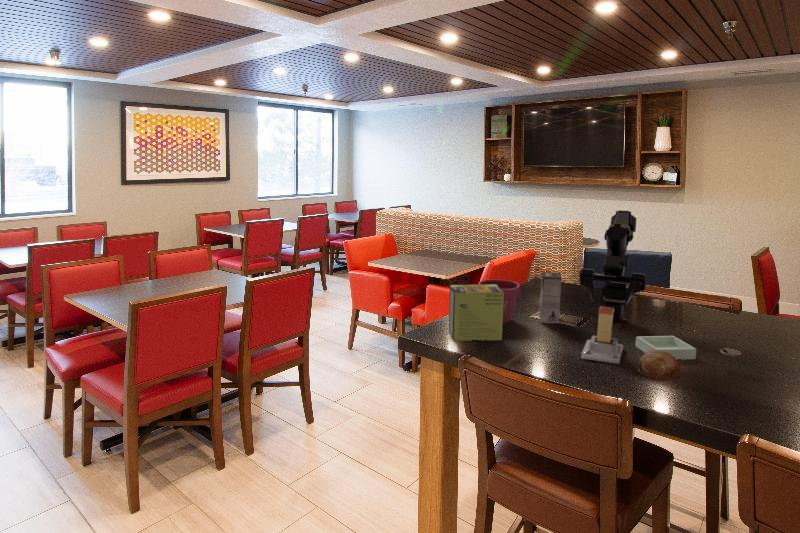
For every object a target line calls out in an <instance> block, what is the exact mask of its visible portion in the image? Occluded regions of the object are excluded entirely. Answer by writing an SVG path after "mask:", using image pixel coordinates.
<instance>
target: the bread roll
mask: <svg viewBox="0 0 800 533" xmlns="http://www.w3.org/2000/svg"><path fill="white" fill-rule="evenodd" d="M681 371H682V370H681V364H680V362H679V361H678V360H676V359H675V358H674V357H673V356H672V355H671V354H669V353H667V352H663V351H656V350H652V351H648V352H646V353H645V352H644V354H643V355H642V356H641V357H640V358H639V360H638V366H637V372H638V373H640V374H641V375H643V376H645V377H647V378H649V379H652V380H657V381H673V380H676V379H677V378H678V377H679V376H680V375H681Z"/></svg>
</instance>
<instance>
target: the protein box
mask: <svg viewBox="0 0 800 533" xmlns="http://www.w3.org/2000/svg"><path fill="white" fill-rule="evenodd" d="M448 301H449V303H448V304H449V309H448V311H449V312H448V333H449V334H450V336H451V338H452V340H453V341H454V342H466V341H467V342H469V341H470V342H471V341H472V340H476V341H477V340H479V342H480V340H481V342H482V341H483V342H484V341H485V340H487V341H502V340H503V325H504V323H503V303H504V292H503V291H502V290H501V289H500V288H499V287H498V286H497V285H496V284H488V285H479V284H451V285H449V300H448ZM476 341H475V342H476ZM472 342H473V341H472Z"/></svg>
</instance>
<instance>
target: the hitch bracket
mask: <svg viewBox="0 0 800 533" xmlns="http://www.w3.org/2000/svg"><path fill="white" fill-rule="evenodd" d="M618 340H619V339H618V338H614V337H611V344H605V343H598V342H597V335H591V338H590V339H586V342H585V344H584V347H583V349H582V351H581V357H580V359H582V360H591V361H596V362H603V363H609V364H617V365H620V362H621V358H622V357H621V356H622V353H623V348H624V344H621V343H618Z"/></svg>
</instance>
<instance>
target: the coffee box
mask: <svg viewBox="0 0 800 533" xmlns="http://www.w3.org/2000/svg"><path fill="white" fill-rule="evenodd" d="M540 282H541V283H540V299H539V300H540V301H539V320H540V323H542V324H555V323H559V321H560V309H561V294H562V283H563V282H562V274H561V272H556V271H555V272H552V271H551V272H550V271H541V281H540ZM559 324H560V323H559Z"/></svg>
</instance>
